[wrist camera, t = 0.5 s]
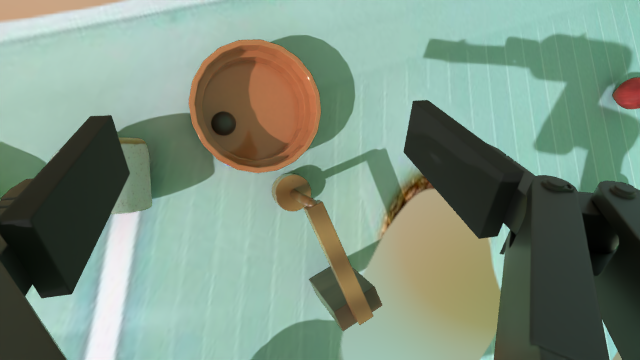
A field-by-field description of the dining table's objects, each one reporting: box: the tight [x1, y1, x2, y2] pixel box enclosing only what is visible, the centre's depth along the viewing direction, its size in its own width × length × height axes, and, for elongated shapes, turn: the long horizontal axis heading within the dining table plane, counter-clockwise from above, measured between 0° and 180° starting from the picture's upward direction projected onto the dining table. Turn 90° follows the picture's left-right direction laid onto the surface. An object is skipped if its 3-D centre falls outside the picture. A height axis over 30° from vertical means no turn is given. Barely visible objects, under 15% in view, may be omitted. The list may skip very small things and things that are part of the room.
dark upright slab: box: [309, 267, 382, 331], centre depth 47 cm, size 3×6×10 cm, turn 115°
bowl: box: [189, 40, 321, 173], centre depth 42 cm, size 15×15×6 cm
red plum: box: [613, 77, 640, 109], centre depth 64 cm, size 6×6×8 cm
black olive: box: [211, 111, 236, 136], centre depth 42 cm, size 3×3×3 cm
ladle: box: [272, 173, 373, 325], centre depth 44 cm, size 18×5×12 cm, turn 25°
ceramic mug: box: [50, 137, 152, 214], centre depth 37 cm, size 11×8×8 cm
